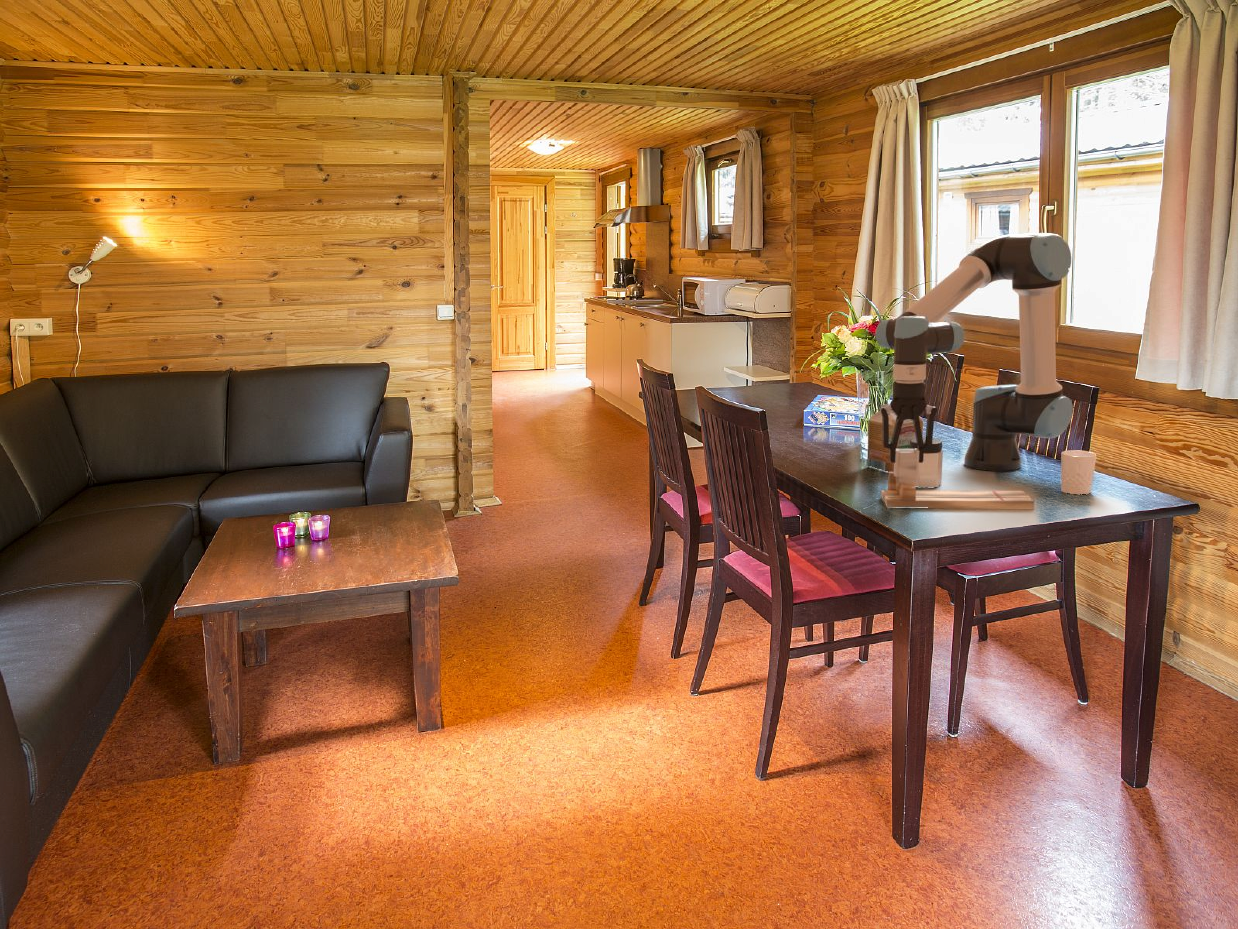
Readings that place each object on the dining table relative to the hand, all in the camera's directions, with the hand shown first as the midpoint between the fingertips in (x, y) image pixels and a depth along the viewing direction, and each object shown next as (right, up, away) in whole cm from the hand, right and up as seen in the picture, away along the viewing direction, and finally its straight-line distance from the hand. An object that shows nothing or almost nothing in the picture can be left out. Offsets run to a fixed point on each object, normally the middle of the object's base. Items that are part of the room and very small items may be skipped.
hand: (905, 475), depth 229 cm
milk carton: (+8, +1, +38) cm, 39 cm away
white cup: (+45, -4, +7) cm, 46 cm away
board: (+12, -7, 0) cm, 14 cm away
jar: (+11, -3, +19) cm, 22 cm away
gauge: (0, -7, +2) cm, 7 cm away
